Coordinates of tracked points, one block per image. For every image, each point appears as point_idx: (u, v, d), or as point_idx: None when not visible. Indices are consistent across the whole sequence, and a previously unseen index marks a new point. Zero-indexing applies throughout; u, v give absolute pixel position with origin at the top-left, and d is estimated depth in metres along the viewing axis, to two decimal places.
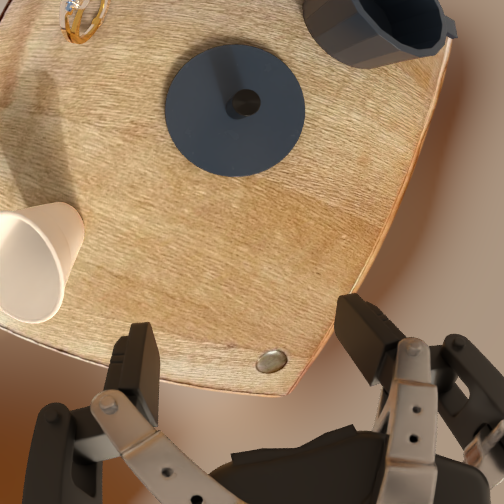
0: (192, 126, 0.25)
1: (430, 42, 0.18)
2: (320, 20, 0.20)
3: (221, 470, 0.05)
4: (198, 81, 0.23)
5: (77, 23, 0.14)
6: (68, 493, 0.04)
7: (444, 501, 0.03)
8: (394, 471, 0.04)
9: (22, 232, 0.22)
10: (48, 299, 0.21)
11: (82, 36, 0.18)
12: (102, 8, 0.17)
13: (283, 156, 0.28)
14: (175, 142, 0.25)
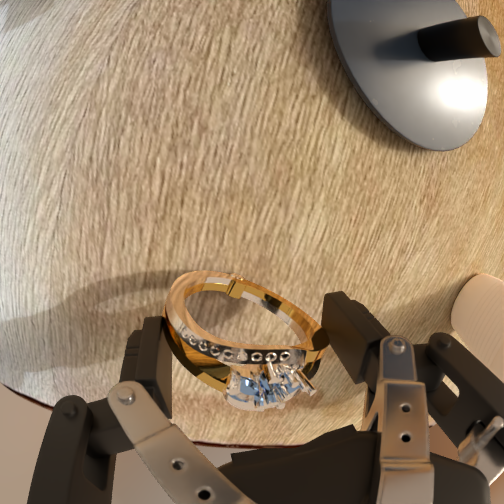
0: (450, 113, 0.13)
1: None
2: None
3: (221, 470, 0.05)
4: (399, 88, 0.12)
5: (322, 348, 0.10)
6: (78, 486, 0.04)
7: (444, 501, 0.03)
8: (394, 471, 0.04)
9: None
10: None
11: (282, 312, 0.14)
12: (208, 282, 0.14)
13: (465, 16, 0.10)
14: (462, 143, 0.14)
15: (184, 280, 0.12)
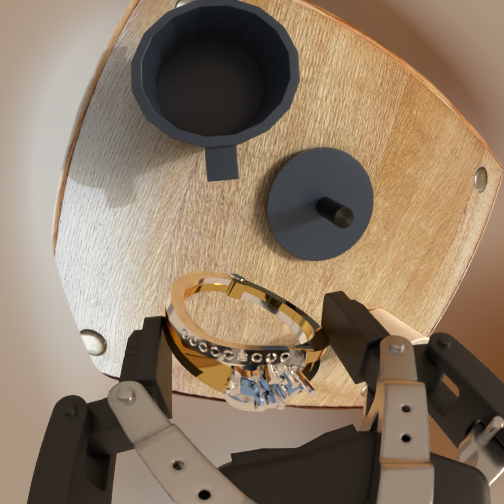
0: (335, 239, 0.34)
1: (257, 23, 0.17)
2: None
3: (221, 470, 0.05)
4: (301, 238, 0.33)
5: (322, 348, 0.10)
6: (78, 486, 0.04)
7: (444, 501, 0.03)
8: (394, 471, 0.04)
9: None
10: (418, 342, 0.36)
11: (282, 312, 0.14)
12: (208, 283, 0.14)
13: (362, 168, 0.31)
14: (344, 251, 0.35)
15: (184, 281, 0.12)
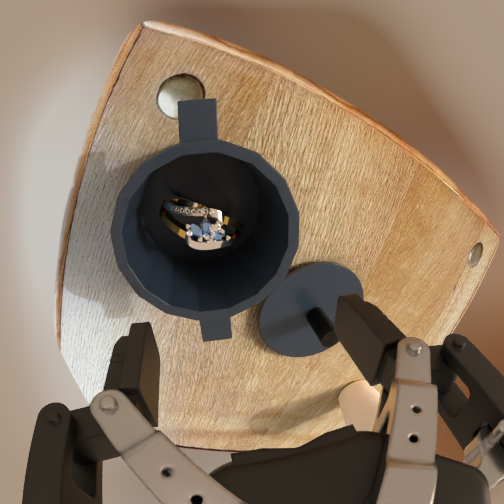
0: None
1: (253, 168, 0.19)
2: None
3: (221, 470, 0.05)
4: (290, 342, 0.35)
5: (236, 222, 0.22)
6: (68, 493, 0.04)
7: (444, 501, 0.03)
8: (394, 471, 0.04)
9: None
10: None
11: None
12: (185, 204, 0.25)
13: (355, 276, 0.33)
14: (330, 346, 0.37)
15: (172, 197, 0.23)
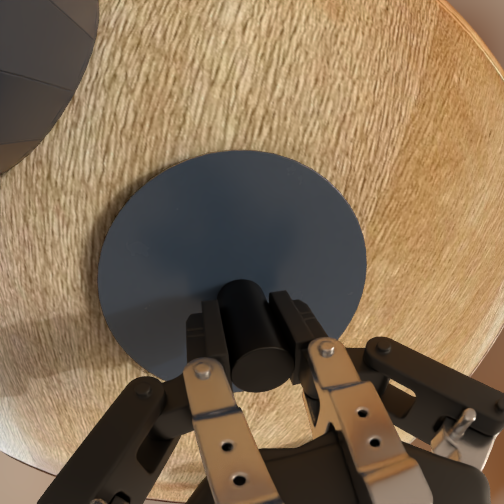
0: None
1: None
2: None
3: None
4: None
5: None
6: (125, 466, 0.05)
7: (444, 501, 0.03)
8: (394, 471, 0.04)
9: None
10: None
11: None
12: None
13: (343, 200, 0.13)
14: None
15: None
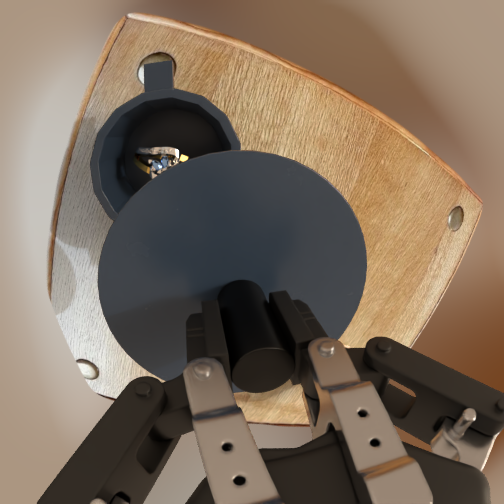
0: None
1: (202, 110, 0.21)
2: None
3: None
4: None
5: None
6: (125, 466, 0.05)
7: (444, 501, 0.03)
8: (394, 471, 0.04)
9: None
10: None
11: None
12: (157, 155, 0.28)
13: (343, 201, 0.13)
14: None
15: (145, 147, 0.26)
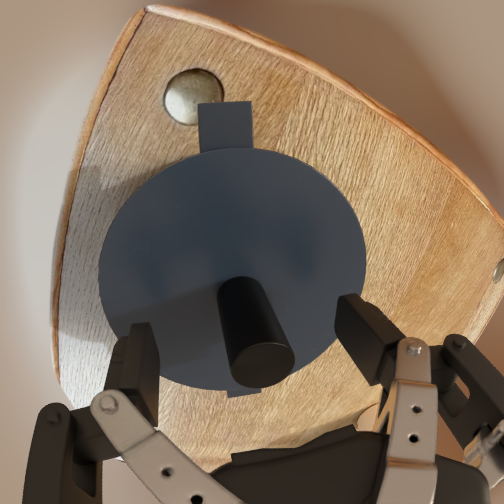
0: None
1: None
2: None
3: (221, 470, 0.05)
4: (191, 359, 0.15)
5: None
6: (68, 493, 0.04)
7: (444, 501, 0.03)
8: (394, 471, 0.04)
9: None
10: None
11: None
12: None
13: (342, 198, 0.13)
14: (293, 371, 0.17)
15: None
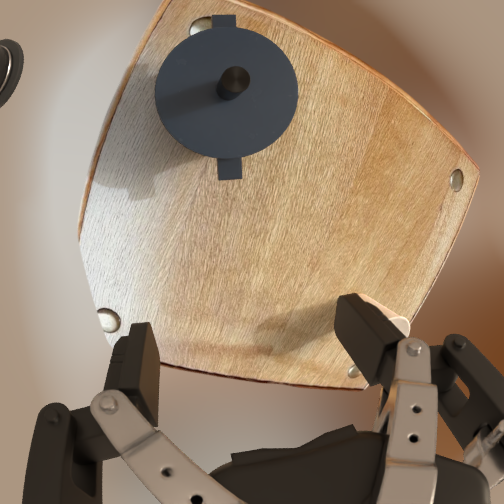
0: (246, 131, 0.26)
1: None
2: None
3: (221, 470, 0.05)
4: (198, 127, 0.24)
5: None
6: (68, 493, 0.04)
7: (444, 501, 0.03)
8: (394, 471, 0.04)
9: None
10: (397, 323, 0.43)
11: None
12: None
13: (278, 48, 0.23)
14: (261, 148, 0.26)
15: None
